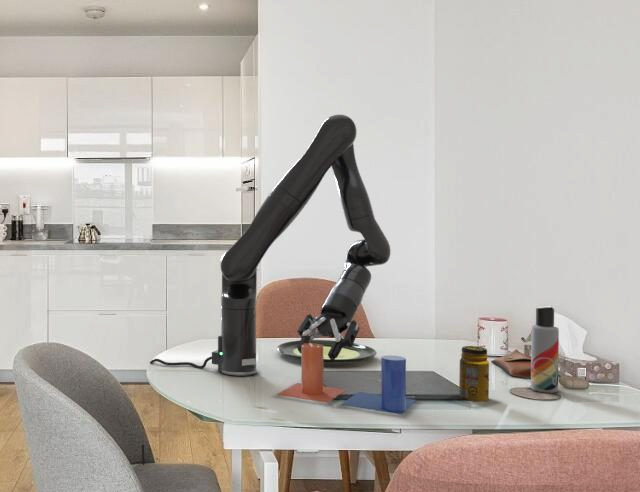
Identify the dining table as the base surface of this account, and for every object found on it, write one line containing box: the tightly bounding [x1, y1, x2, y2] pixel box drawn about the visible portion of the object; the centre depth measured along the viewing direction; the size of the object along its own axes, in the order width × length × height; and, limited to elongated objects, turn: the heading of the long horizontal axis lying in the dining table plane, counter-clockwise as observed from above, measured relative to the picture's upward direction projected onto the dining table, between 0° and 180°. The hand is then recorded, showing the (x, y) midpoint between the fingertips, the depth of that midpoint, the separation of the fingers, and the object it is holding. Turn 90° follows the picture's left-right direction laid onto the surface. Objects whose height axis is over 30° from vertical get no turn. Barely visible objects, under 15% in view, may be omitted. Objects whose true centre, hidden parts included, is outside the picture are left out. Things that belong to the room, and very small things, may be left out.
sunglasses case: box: [490, 349, 531, 379], centre depth 191 cm, size 18×7×7 cm
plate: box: [276, 339, 378, 363], centre depth 208 cm, size 28×28×2 cm
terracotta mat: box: [276, 382, 346, 404], centre depth 167 cm, size 12×13×1 cm
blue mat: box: [340, 391, 417, 415], centre depth 158 cm, size 13×13×1 cm
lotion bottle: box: [530, 306, 560, 394], centre depth 171 cm, size 6×6×20 cm
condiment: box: [458, 345, 490, 403], centre depth 161 cm, size 7×8×12 cm
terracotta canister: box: [300, 343, 324, 395], centre depth 167 cm, size 5×5×11 cm
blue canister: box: [380, 354, 407, 413], centre depth 153 cm, size 5×5×11 cm
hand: (315, 354), depth 168 cm, fingers open, 8 cm apart
